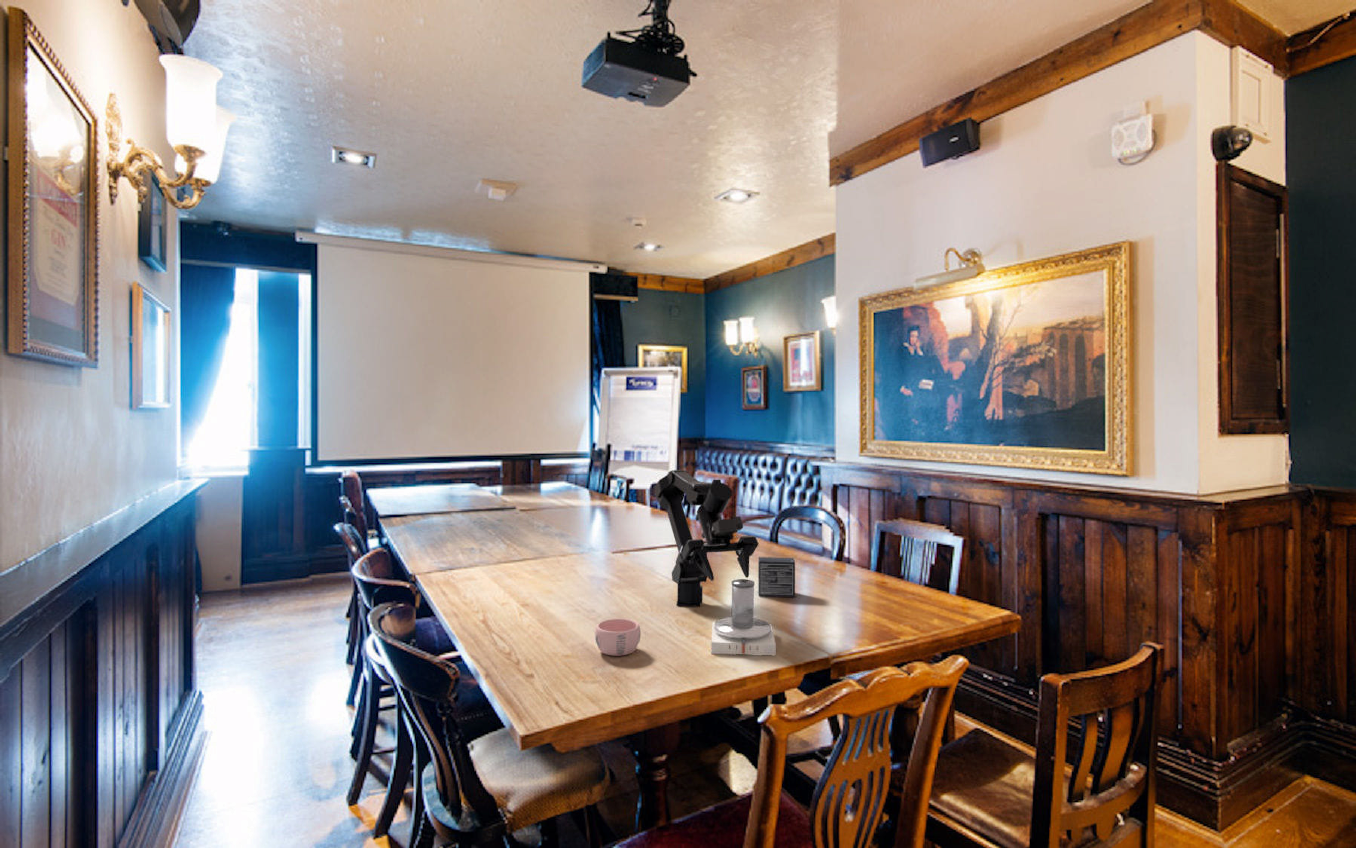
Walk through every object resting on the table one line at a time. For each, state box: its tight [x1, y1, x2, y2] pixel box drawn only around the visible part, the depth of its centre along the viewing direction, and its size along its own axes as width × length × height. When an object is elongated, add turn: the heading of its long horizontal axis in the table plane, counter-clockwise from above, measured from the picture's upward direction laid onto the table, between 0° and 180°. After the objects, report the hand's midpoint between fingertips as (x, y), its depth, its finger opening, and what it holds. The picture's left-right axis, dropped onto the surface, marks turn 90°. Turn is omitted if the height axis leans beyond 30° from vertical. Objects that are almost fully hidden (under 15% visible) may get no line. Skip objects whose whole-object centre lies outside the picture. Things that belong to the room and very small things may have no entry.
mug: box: [594, 618, 641, 657], centre depth 144 cm, size 12×10×6 cm
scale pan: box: [714, 616, 772, 654], centre depth 148 cm, size 13×14×4 cm
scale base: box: [710, 621, 777, 656], centre depth 149 cm, size 14×14×2 cm
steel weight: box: [731, 578, 755, 629], centre depth 149 cm, size 5×5×10 cm
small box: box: [757, 556, 796, 599], centre depth 190 cm, size 11×6×10 cm, turn 84°
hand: (730, 578), depth 155 cm, fingers open, 9 cm apart
